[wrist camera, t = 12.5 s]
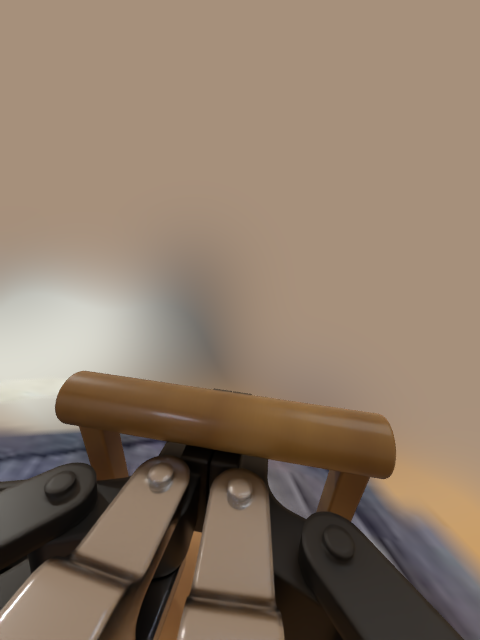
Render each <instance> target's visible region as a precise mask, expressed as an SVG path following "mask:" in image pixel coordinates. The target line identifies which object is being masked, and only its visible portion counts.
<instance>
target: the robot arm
mask: <svg viewBox="0 0 480 640" xmlns="http://www.w3.org/2000/svg"><path fill="white" fill-rule="evenodd" d="M213 390H219V391H226V390H220V389H213ZM226 392H232V391H226ZM233 393H240V392H233ZM240 394H247V393H240ZM247 395H252V394H247ZM267 474H268V459H265V458H259V457H253V456H247V455H242V454H236V453H230V452H225V451H219V450H213V449H207V448H202V447H196V446H190V445H185V444H179V443H173V442H167V443H166V444H165V446H164V448H163V449H162V451H161V453H160V454H159V456H157V457H154V458H151V459H149V460H147V461H146V462H144V463H143V464H141V465H140V466H139V467H138V468H137V469H136V471H135V472H134V473H133V475H132V476H129V477H125V478H117V479H108V480H99V481H97V477H96V472H95V470H94V468H93V467H92V466H90V465H88V464H85V463H70V464H65V465H61V466H59V467H56V468H54V469H51V470H49V471H47V472H44V473H42V474H39V475H37V476H35V477H32V478H30V479H28V480H25V481H23V482H21V483H18V484H16V485H14V486H11V487H9V488H6V489H4V490H2V491H0V570H2V569H3V568H5V567H7V566H9V565H10V564H12V563H14V562H15V561H17V560H19V559H21V558H22V557H24V556H26V555H27V554H28V559H26V560H24V561H23V562H21V563H19V564H18V565H16V566H14V567H12V568H11V569H9V570H7V571H6V572H4V573H2V574H1V575H0V640H159V637H160V634H161V631H162V628H163V626H164V623H165V620H166V617H167V614H168V612H169V609H170V606H171V603H172V601H173V598H174V595H175V592H176V589H177V587H178V584H179V581H180V578H181V575H182V573H183V570H184V567H185V563H186V555H187V552H188V549H189V546H190V542H191V539H192V536H193V532H194V531H196V532H201V533H202V535H201V541H200V546H199V551H198V556H197V561H196V566H195V572H194V577H193V582H192V586H191V591H190V594H189V596H187V599H186V602H185V605H184V609H183V613H182V617H181V622H180V626H179V631H178V636H177V640H464V639H463V638H462V637H461V636H460V635H459V634H458V633H457V632H456V631H455V630H454V629H453V628H452V626H451V625H450V624H449V623H448V622H447V621H446V620H445V619H444V618H443V617H442V616H441V615H440V614H439V613H438V612H437V611H436V610H435V609H434V608H433V606H432V605H431V604H430V603H429V602H428V601H427V600H426V599H425V598H424V597H423V596H422V595H421V594H420V593H419V592H418V591H417V590H416V589H415V588H414V587H413V585H412V584H411V583H410V582H409V581H408V580H407V579H406V578H405V577H404V576H403V575H402V574H401V573H400V572H399V571H398V570H397V569H396V568H395V567H394V565H393V564H392V563H391V562H390V561H389V560H388V559H387V558H386V557H385V556H384V555H383V554H382V553H381V552H380V551H379V550H378V549H377V548H376V547H375V545H374V544H373V543H372V542H371V541H370V540H369V539H368V538H367V537H366V536H365V535H364V534H363V533H362V532H361V531H360V530H359V529H358V528H357V527H356V526H355V525H354V524H353V523H351V522H350V521H349V520H347V519H346V518H344V517H342V516H340V515H338V514H335V513H332V512H326V511H323V512H316V513H314V514H312V515H311V516H309V517H308V518H307V519H305V518H303V517H301V516H299V515H297V514H295V513H293V512H292V511H290V510H288V509H287V508H285V507H284V506H283V505H281V504H280V503H279V502H278V501H277V500H276V498H275V497H274V496H273V494H272V492H271V490H270V488H269V485H268V479H267Z"/></svg>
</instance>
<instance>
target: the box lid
mask: <svg viewBox="0 0 480 640" xmlns="http://www.w3.org/2000/svg"><path fill="white" fill-rule="evenodd" d="M55 412H56V416H57V418H58V419H59V420H60V421H61V422H62V423H65V424H70V425H76V426H79V428H80V431H81V434H82V438H83V441H84V444H85V448H86V451H87V454H88V457H89V461H90V464H91V466H92V467H93V468H94V470H95V472H96V477H97V481H99V480H108V479H117V478H125V477H129V475H128V470H127V466H126V461H125V456H124V451H123V447H122V442H121V437H120V433H122V434H127V435H133V436H139V437H144V438H150V439H156V440H162V441H167V442H173V443H179V444H185V445H190V446H196V447H202V448H207V449H213V450H219V451H225V452H230V453H236V454H242V455H247V456H253V457H259V458H265V459H270V460H276V461H282V462H288V463H293V464H299V465H305V466H310V467H316V468H322V469H328V470H329V473H328V476H327V480H326V483H325V486H324V489H323V492H322V495H321V499H320V502H319V505H318V508H317V511H316V512H323V511H326V512H332V513H335V514H338V515H340V516H342V517H344V518H346V519H347V520H349V521H350V522H351V520H352V518H353V515H354V513H355V511H356V508H357V506H358V504H359V502H360V499H361V497H362V495H363V492H364V490H365V488H366V485H367V483H368V481H369V478H370V477H373V478H379V479H386V478H388V477H390V476H391V474H392V472H393V470H394V467H395V460H396V447H395V440H394V435H393V431H392V429H391V426H390V424H389V422H388V421H387V419H386V418H385V417H384V416H382V415H380V414H376V413H369V412H362V411H356V410H349V409H342V408H335V407H328V406H321V405H314V404H308V403H301V402H294V401H287V400H280V399H274V398H267V397H260V396H253V395H247V394H240V393H233V392H226V391H219V390H212V389H206V388H199V387H192V386H185V385H178V384H171V383H165V382H157V381H151V380H144V379H137V378H131V377H124V376H117V375H110V374H103V373H96V372H89V371H81V372H77V373H75V374H73V375H72V376H71V377H69V378H68V379H67V380H66V382H65V383H64V384H63V386H62V387H61V389H60V391H59V393H58V396H57V399H56V404H55ZM201 535H202V533H201V532H196V531H194V532H193V536H192V539H191V542H190V546H189V549H188V552H187V555H186V563H185V567H184V570H183V573H182V575H181V578H180V581H179V584H178V587H177V589H176V592H175V595H174V598H173V601H172V603H171V606H170V609H169V612H168V614H167V617H166V620H165V623H164V626H163V628H162V631H161V634H160V637H159V640H177V636H178V631H179V626H180V622H181V617H182V613H183V609H184V605H185V602H186V599H187V596H189V594H190V591H191V586H192V582H193V577H194V572H195V566H196V561H197V556H198V551H199V546H200V541H201Z"/></svg>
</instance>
